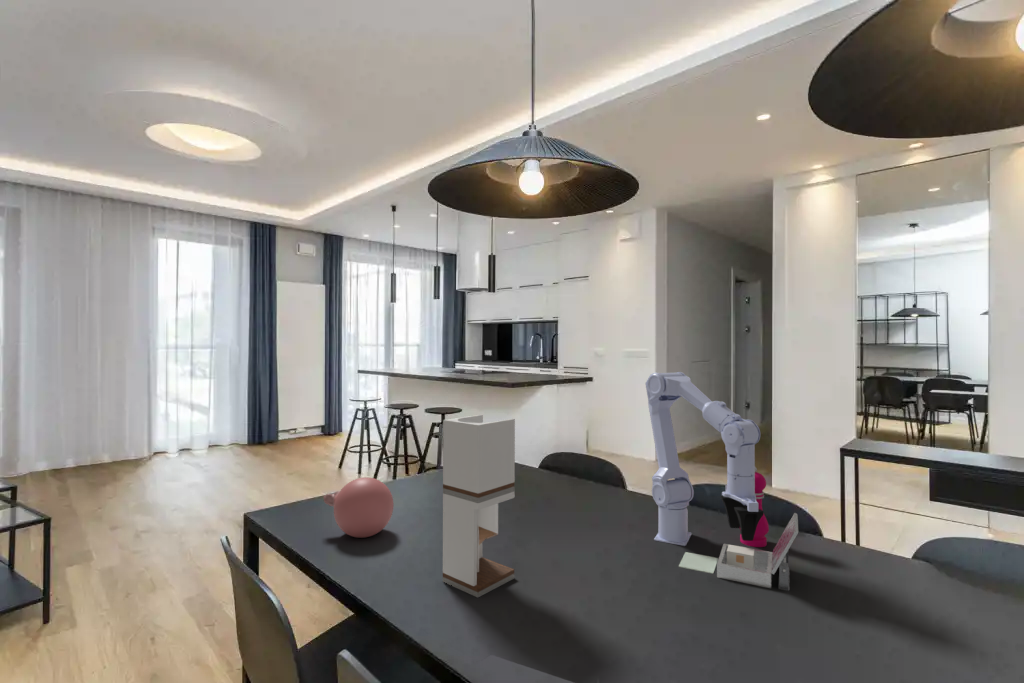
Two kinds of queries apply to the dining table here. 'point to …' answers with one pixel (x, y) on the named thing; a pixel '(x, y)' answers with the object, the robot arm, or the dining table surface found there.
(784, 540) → the lid
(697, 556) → the pad
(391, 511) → the round balloon
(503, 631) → the dining table surface
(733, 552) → the block
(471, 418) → the display case
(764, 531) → the pepper mill
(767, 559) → the case
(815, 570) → the dining table surface
